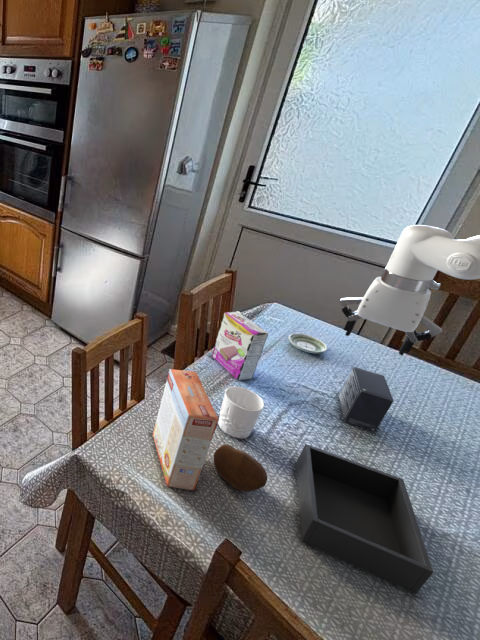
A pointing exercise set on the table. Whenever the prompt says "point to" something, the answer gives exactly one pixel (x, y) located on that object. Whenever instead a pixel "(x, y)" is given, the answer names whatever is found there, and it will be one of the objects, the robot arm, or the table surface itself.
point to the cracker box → (184, 429)
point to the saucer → (307, 343)
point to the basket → (360, 517)
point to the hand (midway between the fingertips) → (373, 342)
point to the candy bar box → (239, 345)
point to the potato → (239, 469)
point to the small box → (365, 399)
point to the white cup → (239, 411)
